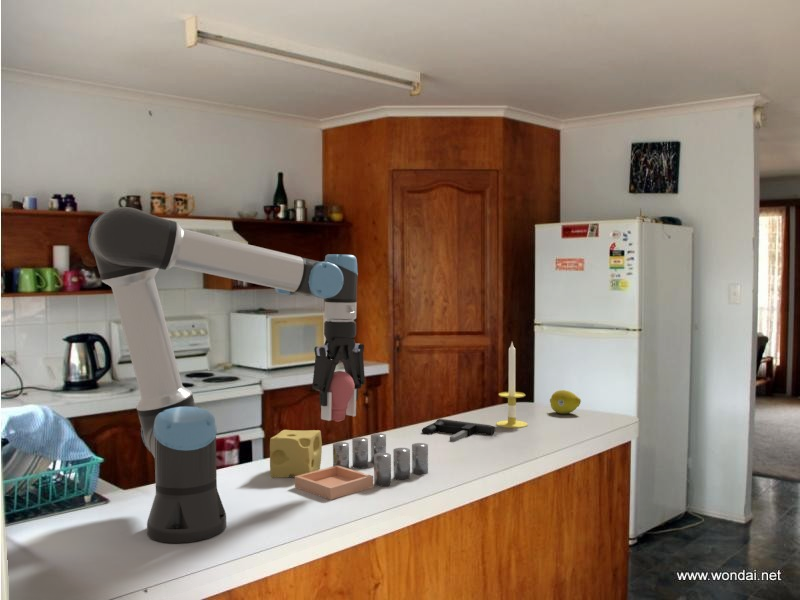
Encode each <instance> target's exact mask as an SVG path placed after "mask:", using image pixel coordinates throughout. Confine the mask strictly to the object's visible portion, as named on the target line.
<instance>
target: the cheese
mask: <svg viewBox="0 0 800 600" xmlns="http://www.w3.org/2000/svg"><path fill="white" fill-rule="evenodd" d="M322 442H323V441H322V431H321V430H319V429H317V430H315V429H313V430H312V429H311V430H310V429H309V430H294V429H293V430H291V429H283V430H281V431H280V432H279V433H277V434H276V435H273V436H272V437H270V439H269V469H270V470H269V471H270V477H271V478H285V479H286V478H287V479H288V478H295V476H298V475H302V474H306V473H310V472H313V471H317V470H321V463H322V452H323V451H322V449H323V448H322V447H323V443H322Z"/></svg>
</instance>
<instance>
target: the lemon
mask: <svg viewBox="0 0 800 600" xmlns="http://www.w3.org/2000/svg"><path fill="white" fill-rule="evenodd" d="M581 402H582V400H581V398H580V397H578V395H576V394H575V393H573V392H571V391H570V390H566V389H565V390H557V391H555V392H553V393H552V395H551V397H550V399H549V403H550V407H551V409H552V411H554V412H555V413H558V414H561V415H566V414H567V415H568V414H570V413H573V412H574V411H575V410H577V408H578V407H579V406H580V404H581Z"/></svg>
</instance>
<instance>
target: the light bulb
mask: <svg viewBox="0 0 800 600" xmlns="http://www.w3.org/2000/svg"><path fill="white" fill-rule="evenodd" d="M324 387H325V386H324ZM354 388H355V384H354V381H353V378H352V377H351V376H350V375H349V374H348V373H346V372H345V371H343V370H337V371H336V370H335V371H334V375H333V378H332V382H331V385H330V388H329V391H328V392H332V402H331V420H330V421H334V422H336V423H339V422H341V421H345V419H346V416H347V415H346V409H347V408H348V402H349V400H350V398H351V396H352V394H353V392H354Z"/></svg>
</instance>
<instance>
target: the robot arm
mask: <svg viewBox="0 0 800 600" xmlns="http://www.w3.org/2000/svg"><path fill="white" fill-rule="evenodd" d="M89 228H90V229H89V231H88V246H89V249H90V251H91V253H92V255H93V256H94V258H95V262H96V267H97V269H98V273H99V276H100V279H101V280H100V281H101V282H102V283H104V284H105V285H108V286H109V287H111V291H112V295H113V298H114V301H115V305H116V309H117V312H118V316H119V317H118V318H119V320H120V324H121V327H122V331H123V333H124V338H125V342H126V346H127V348H128V352H129V356H130V360H131V364H132V366H133V371H134V375H135V377H136V378H135V379H136V381H137V386H138V389H139V393H140V397H141V398H140V400H139V401H138V403H137V405H136V412H137V415H138V419H139V423H140V426H141V427H140V431H141V432H140V434H141V438H142V441H143V444H144V446H145V447H146V449H147V450H148V451H149V452H150V453H151V454H152V456H153V458H154V470H155V472H154V474H155V475H154V477H155V478H154V480H155V495H154V498H153V502H152V504H151V507H150V508H151V509H150V511H149V514H148V517H147V518H148V519H147V522H146V533H147V536H148V538H150V539H151V540H154V541H156V542H160V543H169V544H182V543H193V542H197V541H198V542H199V541H202V540H207V539H210V538H212V537H216V536H217V535H219V534H221V533H222V532H223V531H225V529H226V528H227V514H226V513H227V512H226V510H225V507H224V505H223V502H222V500H221V496H220V493H219V491H218V485H217V483H218V482H217V476H218V475H217V425H216V419H215V416H214V414H213V413H212V412H211V411H209V410H208V409H205V408H203V407H202V408H201V407H200V408H199V407H197V406H196V403H195V399H194V396H193V391H191V390H190V389H188V388H186V387H185V386H184V385H183V382H182V379H181V375H180V371H179V368H178V363H177V360H176V356H175V352H174V348H173V344H172V341H171V335H170V333H169V330H168V326H167V325H168V324H167V321H166V318H165V313H164V310H163V306H162V303H161V302H162V301H161V299H160V295H159V291H158V290H159V289H158V288H157V284H156V279H155V277H156V275H157V273H158V271H159V270H163V271H165V270H166V271H167V270H169V269H171V268H172V267H173V268H174V267H176V268H179V269H184V270H189V271H194V272H198V273H203V274H208V275H213V276H216V277H221V278H227V279H231V280H235V281H236V280H237V281H240V282H245V283H251V284H255V285H259V286H264V287H270V288H273V289H274V291H275V292H276V293H277V294H278V295H283V296H286V295H287V296H306V297H313V298H319V299H324V310H323V311H324V312H323V313H324V315H323V316H324V317H323V318H324V319H325V321H324V323H323V335H324V337H325V342H324V344H323V345H322V346H314V349H313V351H314V355H315V357H314V358H315V359H314V360H315V361H314V368H313V375H312V376H313V377H312V385H311V386H312V387H311V388H312V389H313V390H315V391H317V392H319V398H318V399H319V403H318V404H319V406H320V408H321V412H320V419H321V420H324V421H328V422H330V421H332V420H331V402H332V392H328V391H329V388H330V385H331V382H332V378H333V375H334V372H336V368H337V365H338V364H339V363H340V361H341V362H342V365H343V368H344V372H346V373H348V374H349V375H350V376H351V377H352V378H353V381H354V384H355V388H354V392H353V394H352V396H351V398H350V400H349V402H348V408H347V409H346V415H345V416H349V417H356V416H357V402H358V399H359V389H362V387H363V386H364V385H365V384H366V380H365V379H366V378H365V376H366V375H365V364H364V350H365V344H363V343H356V341H355V338H356V336H357V322H356V321H355V320H356V319H357V300H358V299H357V293H358V290H357V289H358V276H359V272H358V260H357V257H356V256H355V255H354V254H337V253H336V254H335V253H334V254H329V253H328V254H326V255H325V259H324V260H323V261H319V260H314V259H310V258H308V257H307V258H305V257H301V256H298V255H294V254H290V253H286V252H281V251H278V250H273V249H269V248H264V247H262V246H261V247H260V246H256V245H251V244H248V243H244V242H240V241H235V240H231V239H227V238H222V237H219V236H214V235H211V234H207V233H202V232H199V231H194V230H189V229H186V228H182V227H181V225H180V224H179V223H178V221H174V220H171V219H166V218H163V217H160V216H157V215H154V214H151V213H149V212H146V211H143V210H141V209H137V208H134V207H129V206H128V207H127V206H121V207H116V208H115V207H114V208H112V209H110V210H108V211H105V212H103V213H102V214H100V215H99V216H98V217H97V218H95V219H94V221H93V223H92V224H91V226H90V227H89ZM362 385H363V386H362ZM324 386H325V387H324Z"/></svg>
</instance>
